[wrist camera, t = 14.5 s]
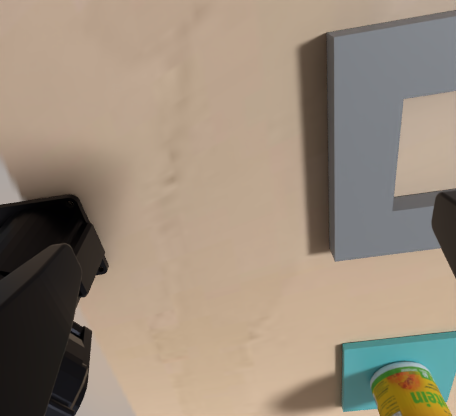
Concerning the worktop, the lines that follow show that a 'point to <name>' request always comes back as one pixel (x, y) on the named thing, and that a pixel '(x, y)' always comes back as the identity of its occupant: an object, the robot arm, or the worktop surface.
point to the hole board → (381, 130)
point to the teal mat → (392, 353)
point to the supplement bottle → (407, 391)
